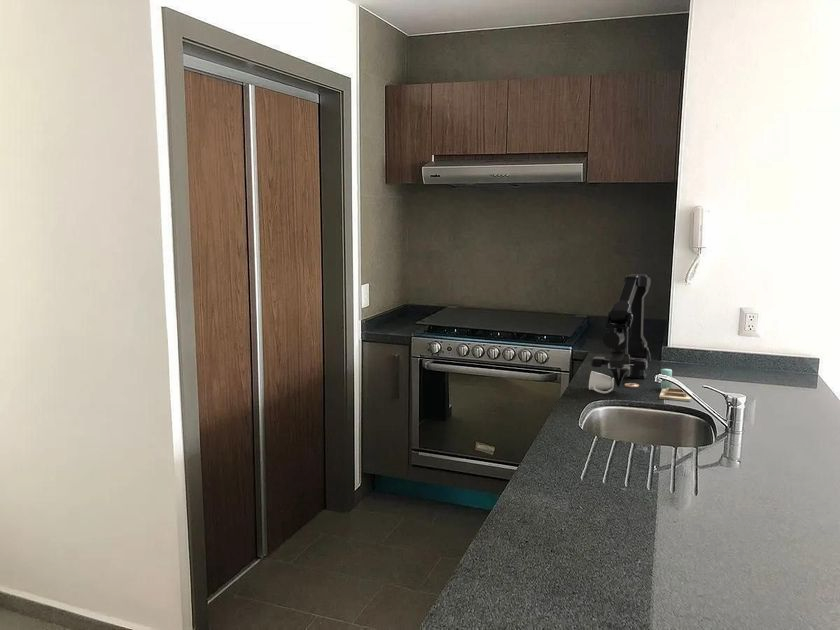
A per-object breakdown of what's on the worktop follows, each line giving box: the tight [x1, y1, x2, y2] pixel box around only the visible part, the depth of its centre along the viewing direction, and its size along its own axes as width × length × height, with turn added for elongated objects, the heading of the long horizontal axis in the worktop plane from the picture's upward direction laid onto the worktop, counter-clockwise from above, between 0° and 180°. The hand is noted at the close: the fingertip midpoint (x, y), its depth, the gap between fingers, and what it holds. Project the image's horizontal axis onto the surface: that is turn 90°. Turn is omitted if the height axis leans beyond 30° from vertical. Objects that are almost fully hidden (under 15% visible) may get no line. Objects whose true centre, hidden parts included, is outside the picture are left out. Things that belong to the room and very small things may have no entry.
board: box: [658, 387, 692, 402], centre depth 243 cm, size 12×10×2 cm
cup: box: [588, 370, 615, 394], centre depth 252 cm, size 7×10×8 cm
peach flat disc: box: [624, 382, 640, 388], centre depth 258 cm, size 5×5×1 cm
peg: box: [660, 368, 673, 390], centre depth 253 cm, size 4×4×7 cm
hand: (618, 386), depth 251 cm, fingers closed
